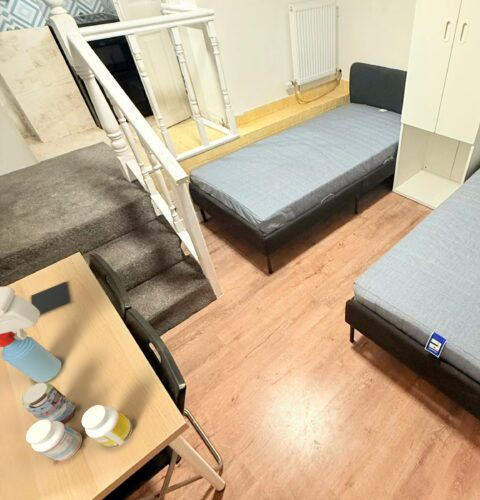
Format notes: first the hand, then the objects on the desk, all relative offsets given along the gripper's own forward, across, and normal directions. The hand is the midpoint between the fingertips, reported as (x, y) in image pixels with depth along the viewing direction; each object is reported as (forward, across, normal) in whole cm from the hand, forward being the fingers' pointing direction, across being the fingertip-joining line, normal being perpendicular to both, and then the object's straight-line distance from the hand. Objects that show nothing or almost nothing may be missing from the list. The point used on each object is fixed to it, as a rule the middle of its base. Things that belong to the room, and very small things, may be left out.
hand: (6, 341), depth 80 cm
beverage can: (+16, +8, -14) cm, 23 cm away
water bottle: (+16, 0, 0) cm, 16 cm away
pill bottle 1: (+16, +10, -22) cm, 29 cm away
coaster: (+16, -6, +27) cm, 32 cm away
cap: (-2, 0, 0) cm, 2 cm away
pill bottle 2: (+16, +22, -22) cm, 35 cm away
